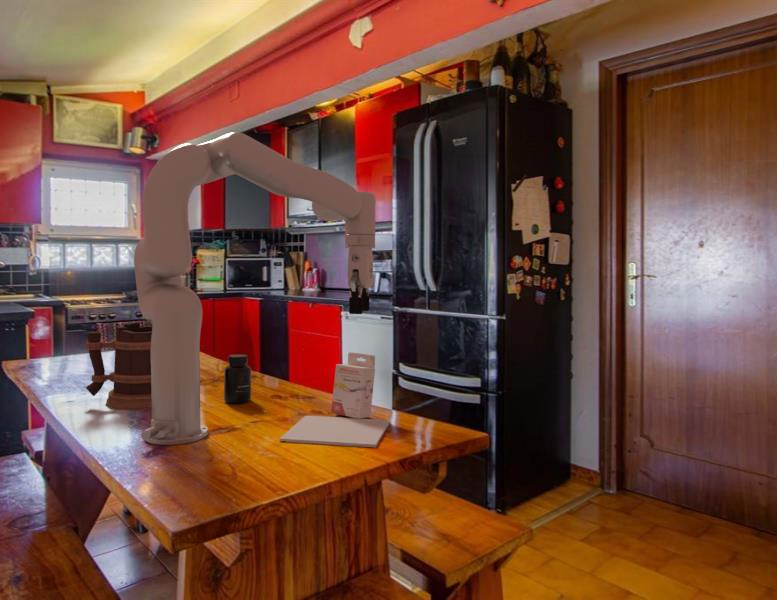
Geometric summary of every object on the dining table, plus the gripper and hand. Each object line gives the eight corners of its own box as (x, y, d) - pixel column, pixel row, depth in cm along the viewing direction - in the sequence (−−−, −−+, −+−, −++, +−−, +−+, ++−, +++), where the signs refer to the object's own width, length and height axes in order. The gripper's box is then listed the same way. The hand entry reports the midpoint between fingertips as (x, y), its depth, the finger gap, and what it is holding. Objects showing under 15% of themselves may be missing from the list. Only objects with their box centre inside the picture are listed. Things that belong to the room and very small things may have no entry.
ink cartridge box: (329, 413, 139) (336, 351, 140) (342, 412, 143) (348, 351, 144) (359, 419, 134) (365, 354, 135) (371, 417, 138) (377, 355, 139)
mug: (82, 400, 152) (80, 323, 151) (173, 390, 165) (172, 319, 163) (91, 416, 137) (89, 331, 135) (190, 404, 149) (190, 326, 148)
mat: (375, 447, 116) (375, 444, 116) (279, 441, 120) (279, 438, 120) (389, 422, 134) (389, 420, 134) (305, 418, 137) (305, 415, 137)
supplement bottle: (244, 405, 149) (244, 358, 148) (219, 403, 150) (219, 357, 149) (255, 399, 155) (255, 354, 154) (231, 397, 157) (231, 353, 156)
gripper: (368, 241, 137) (367, 316, 138) (380, 243, 154) (380, 309, 155) (336, 241, 138) (336, 315, 139) (352, 243, 155) (352, 309, 156)
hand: (359, 312), depth 147 cm, fingers open, 8 cm apart
